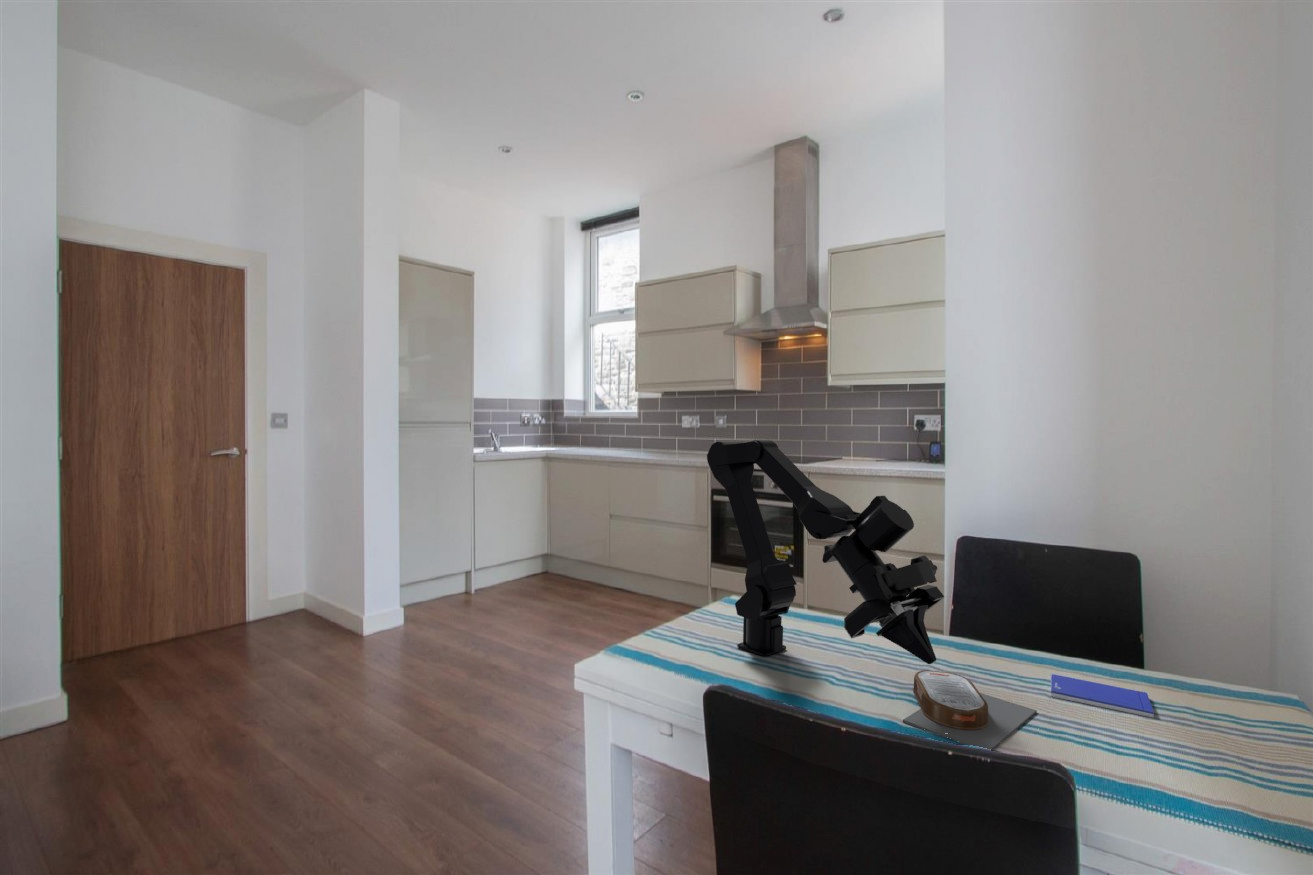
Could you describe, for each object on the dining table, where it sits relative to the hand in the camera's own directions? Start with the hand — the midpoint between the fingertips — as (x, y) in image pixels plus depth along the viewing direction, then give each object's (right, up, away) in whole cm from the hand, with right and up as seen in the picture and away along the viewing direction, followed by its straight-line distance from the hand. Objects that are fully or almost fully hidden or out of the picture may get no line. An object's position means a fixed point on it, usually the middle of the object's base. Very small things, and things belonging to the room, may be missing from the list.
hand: (933, 662), depth 89 cm
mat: (+5, -7, -1) cm, 9 cm away
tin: (-1, -5, +3) cm, 6 cm away
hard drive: (+28, -9, +7) cm, 31 cm away
